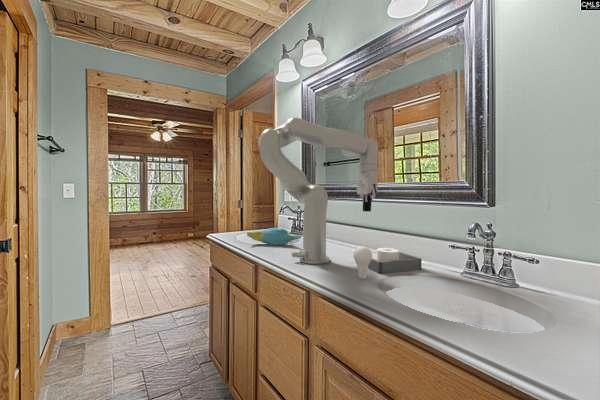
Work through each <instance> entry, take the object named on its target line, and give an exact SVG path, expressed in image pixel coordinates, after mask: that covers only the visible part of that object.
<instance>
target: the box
mask: <svg viewBox="0 0 600 400" xmlns="http://www.w3.org/2000/svg"><path fill="white" fill-rule="evenodd" d="M368 269H369V270H370V271H372V272H375V273H377V274H379V275H380V274H381V275H382V274H390V273H399V272H409V271H410V272H411V271H417V270H422V258H421V257H417V256H414V255H410V254H408V253H404V252H401V251H399V260H392V261H381V262H380V261H378V260H377V259H376V258H373V257H372V259H371V261H370V263H369V265H368Z"/></svg>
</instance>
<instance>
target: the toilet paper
mask: <svg viewBox="0 0 600 400" xmlns="http://www.w3.org/2000/svg"><path fill="white" fill-rule="evenodd" d="M399 252H400V250H399V249H396V248H391V247H379V248H377V249H376V260H378V261H380V262H381V261H392V260H399Z"/></svg>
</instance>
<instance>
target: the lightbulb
mask: <svg viewBox="0 0 600 400" xmlns="http://www.w3.org/2000/svg"><path fill="white" fill-rule="evenodd" d="M352 255H353V256H352V257H353V259H354V261H355V264H356V266H357V271H358V278H359V279H361V280H365V279H367V273H368V265H369V263H370V261H371V259H372V258H373V253H372V250H371V249H370V248H369V247H367V246H364V245H363V246H362V245H361V246H357V247H356V248H355V249H354V251H353V253H352Z"/></svg>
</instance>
